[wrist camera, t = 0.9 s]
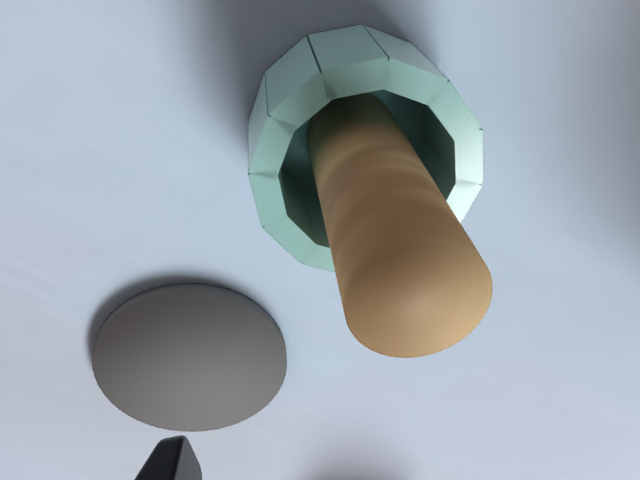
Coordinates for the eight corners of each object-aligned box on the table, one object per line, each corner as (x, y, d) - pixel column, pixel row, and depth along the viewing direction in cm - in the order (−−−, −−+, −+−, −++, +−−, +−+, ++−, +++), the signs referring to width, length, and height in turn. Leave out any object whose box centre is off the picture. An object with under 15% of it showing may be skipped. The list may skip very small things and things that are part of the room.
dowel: (390, 82, 18) (493, 224, 10) (398, 166, 20) (492, 342, 12) (299, 99, 18) (334, 255, 10) (314, 182, 20) (354, 369, 12)
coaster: (264, 266, 22) (264, 275, 21) (300, 402, 26) (301, 412, 26) (64, 305, 22) (60, 314, 21) (133, 435, 26) (131, 445, 26)
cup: (438, 9, 17) (482, 39, 14) (445, 193, 21) (482, 251, 18) (230, 49, 17) (225, 87, 14) (273, 226, 21) (277, 291, 18)
